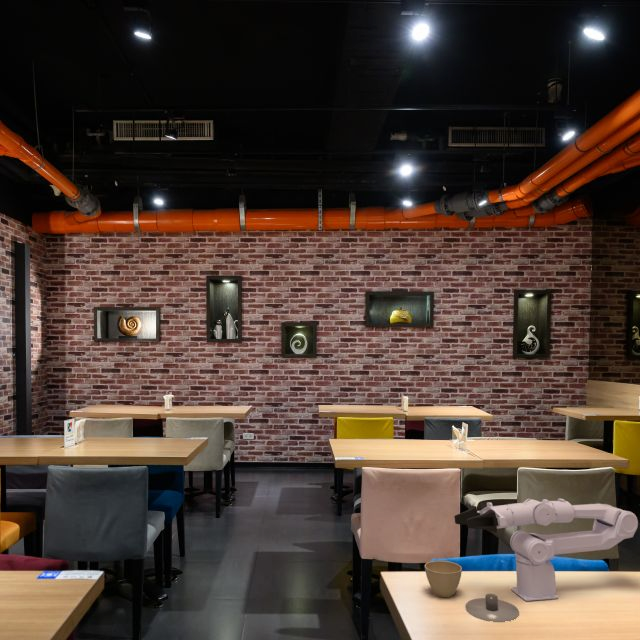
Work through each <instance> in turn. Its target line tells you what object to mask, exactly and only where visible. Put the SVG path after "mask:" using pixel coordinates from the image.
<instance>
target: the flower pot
mask: <svg viewBox="0 0 640 640" xmlns="http://www.w3.org/2000/svg"><path fill="white" fill-rule="evenodd" d="M462 569H463V568H462V566H461V565H459V564H458V563H456V562H452V561H450V560H449V561H448V560H432V561H428V562H426V563H425V564H424V571H425V574H426V578H427V582H428V584H429V587H430V589H431V590H432V591H433V593H434V595H435V596H438V597H439V598H440V597H442V598H451V597H453V596H454V595H455V593H456V591H457V589H458V587H459V584H460V581H461V579H462V573H463V572H462ZM452 595H453V596H452ZM450 596H451V597H450Z"/></svg>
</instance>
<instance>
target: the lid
mask: <svg viewBox="0 0 640 640" xmlns="http://www.w3.org/2000/svg"><path fill="white" fill-rule="evenodd" d="M465 611H466V612H467V613H468V614H469V615H471V616H472V617H474V618H476V619H479V620H482V621H484V622H490V621H493V622H492V623H506V622H505V621H509V622H512V621H511V620H513V621H515V620H517V619H518V618H519V617H518V616H520V611H519V608H517V606H515V605H514V604H512V603H510V602H508V601H504V600H502V599H499V597H498V595H497V594H494V593H486V594H485V597H478V598H474V599H470V600H469V601H467V602H466V604H465ZM517 617H518V618H517ZM516 618H517V619H516ZM514 619H515V620H514Z"/></svg>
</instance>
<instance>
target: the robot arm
mask: <svg viewBox="0 0 640 640" xmlns="http://www.w3.org/2000/svg"><path fill="white" fill-rule="evenodd" d="M477 508H478V507H477V505H473V506H470V508H468V509H466V510H465V511H463V512H460V513H458V514H456V515H453V517H454V523H455V525H460V526H462V525H467V528H468V529H472V530H473V529H474V530H485V531H490V532H492V533H497V532H498V529H504V528H511V527H519V526H525V525H531V524H535V523H536V524H537V525H541V526H544V527H547V526H549V525H550V524H551V523H552V524H553V523H554V524H556V523H560V524H561V523H562V524H563V523H572V521H573V520H574V518H575V519H594V521H593V525H592V530H583V531H572V532H570V531H569V532H561V533H551V534H550V533H549V534H542V533H536V532H526V531H524V530H516V531H515V532H513V534H512V535H511V537H510V541H509V544H510V548H511V550H512V551H514V556H515V568H516V570H515V571H516V572H515V573H516V586H515V587H511V588H510V590H511V591H512V592H513V593H515V594H516V595H518V597H520V598H521V599H522V600H523V601H526V602H529V601H530V602H531V601H532V602H533V601H541V600H554V599H555V600H557V599H558V598H559V596H558V595H557V587H556V586H557V585H556V572H555V568H554V565H553V564H552V562H551V560H553V559H554V558H555V555H563V554H566V555H567V554H575V553H583V552H592V551H602V550H603V551H604V550H609V549H612V548H613V547H615V546H616V545H618V544H620V543H621V542H622V541H623V540H625V539H631V538H634V535H635V533H636V532H637V529H638V525H639V521H638V517H637V516H636V514H635V513H633V512H632V511H629V510H625V509H624V510H623V509H621V508H618V507H615V506H613V505H611V504H608V503H588V504H585V503H584V504H573V505H572V504H571V503H570V502H569V501H567V500H565V499H563V498H557V500H549V499H546V498H545V499H542V501H539V500H535V499H531V498H527V499H526V500H524V501H523V502H518V503H507V504H503V505H502V504H501V505H493V503H492V502H486V506H485V507H484V508H482V509H481V510H478V509H477Z"/></svg>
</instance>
